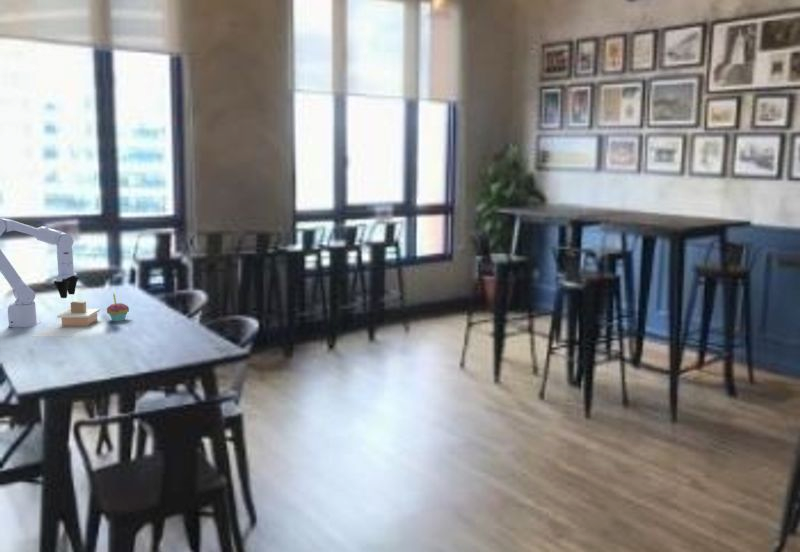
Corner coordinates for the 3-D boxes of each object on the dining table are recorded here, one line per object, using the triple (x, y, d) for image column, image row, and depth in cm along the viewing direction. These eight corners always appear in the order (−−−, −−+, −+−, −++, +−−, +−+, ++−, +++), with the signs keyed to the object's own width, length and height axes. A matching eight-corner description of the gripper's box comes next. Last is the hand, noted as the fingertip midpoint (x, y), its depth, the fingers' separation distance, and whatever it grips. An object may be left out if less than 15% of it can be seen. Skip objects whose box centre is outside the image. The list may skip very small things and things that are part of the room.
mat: (31, 337, 276) (31, 336, 276) (48, 328, 290) (48, 327, 290) (70, 337, 277) (70, 336, 276) (85, 328, 290) (84, 327, 290)
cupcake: (121, 323, 299) (120, 294, 297) (102, 322, 301) (100, 293, 299) (133, 318, 308) (132, 290, 306) (114, 317, 309) (113, 289, 307)
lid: (57, 317, 291) (56, 305, 291) (69, 310, 303) (69, 299, 302) (88, 317, 292) (87, 305, 291) (99, 310, 303) (99, 299, 303)
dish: (62, 327, 293) (61, 316, 292) (72, 321, 303) (71, 311, 302) (88, 326, 293) (87, 316, 293) (97, 321, 303) (96, 311, 302)
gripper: (68, 265, 294) (70, 299, 296) (82, 260, 308) (84, 292, 310) (49, 265, 294) (52, 299, 296) (65, 260, 308) (67, 292, 310)
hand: (67, 296), depth 303 cm, fingers open, 7 cm apart
